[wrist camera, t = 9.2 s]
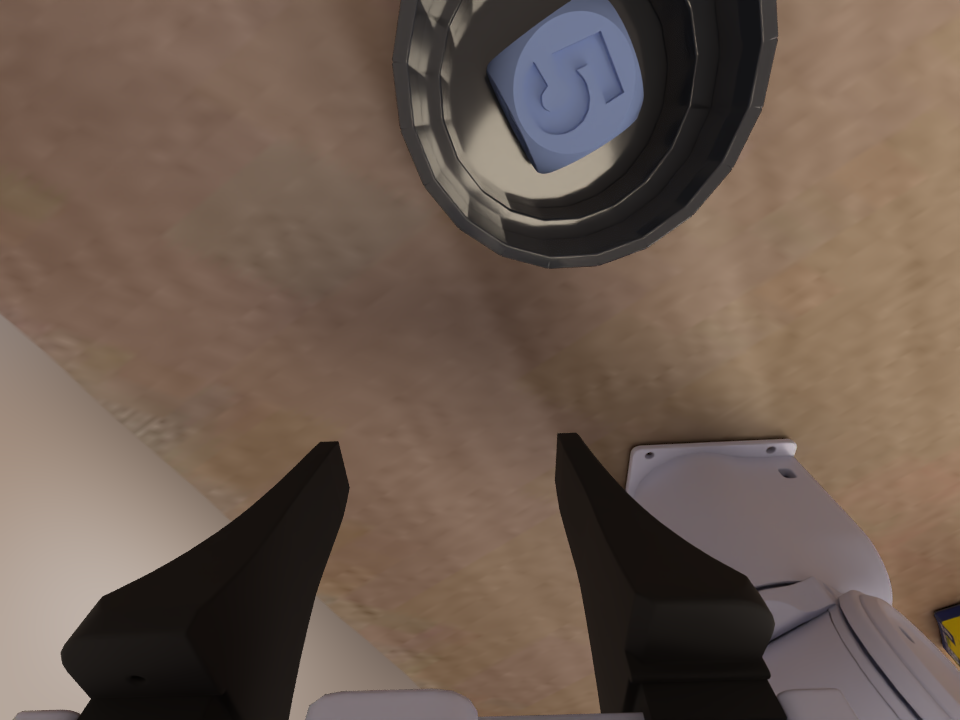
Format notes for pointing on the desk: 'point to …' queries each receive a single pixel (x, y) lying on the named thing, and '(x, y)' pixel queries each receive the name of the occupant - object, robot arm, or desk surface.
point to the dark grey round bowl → (611, 168)
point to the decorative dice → (569, 83)
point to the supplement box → (950, 630)
